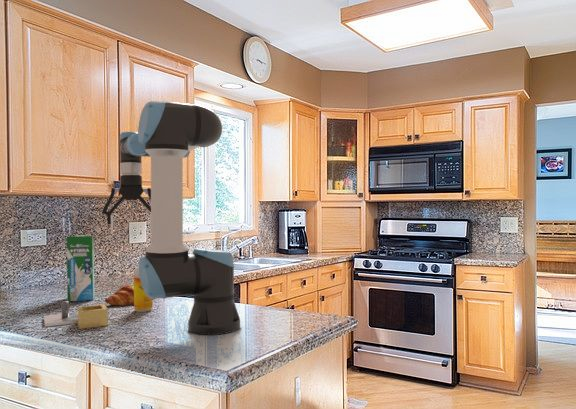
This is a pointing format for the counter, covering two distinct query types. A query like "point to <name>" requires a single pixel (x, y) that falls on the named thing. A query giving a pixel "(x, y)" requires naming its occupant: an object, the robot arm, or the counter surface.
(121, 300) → the croissant
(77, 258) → the milk carton
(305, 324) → the counter surface
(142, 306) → the yellow bottle
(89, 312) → the yellow hollow block
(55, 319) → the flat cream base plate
